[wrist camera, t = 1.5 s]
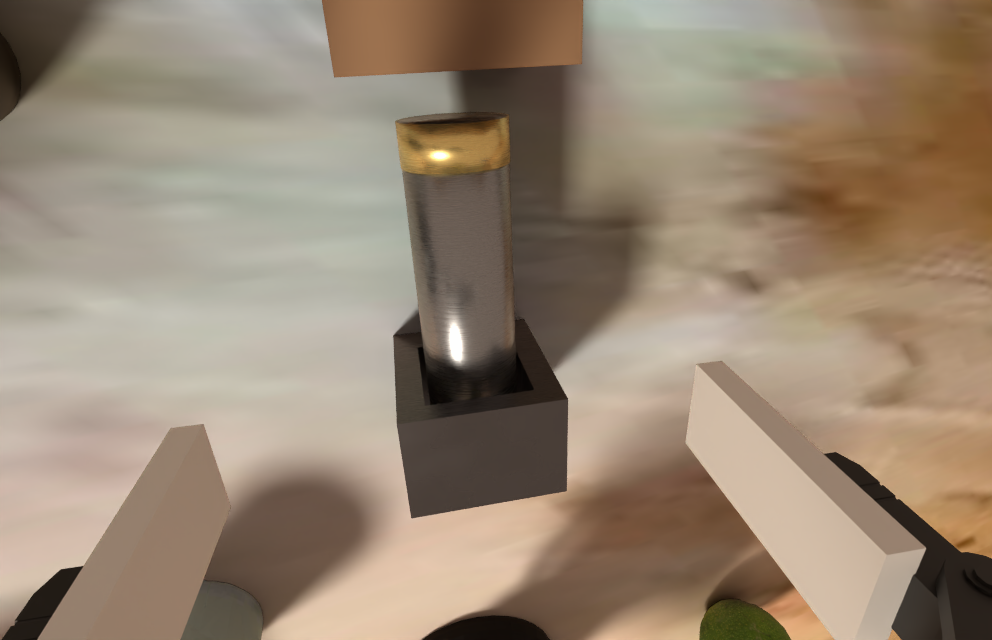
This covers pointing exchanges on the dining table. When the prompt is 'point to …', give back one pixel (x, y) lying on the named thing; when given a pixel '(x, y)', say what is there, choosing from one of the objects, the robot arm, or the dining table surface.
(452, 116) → the tube
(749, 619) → the fruit
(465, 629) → the lantern
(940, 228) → the dining table surface
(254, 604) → the grey green textured cup
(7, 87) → the mug
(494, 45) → the socket
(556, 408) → the sleeve
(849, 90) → the dining table surface
